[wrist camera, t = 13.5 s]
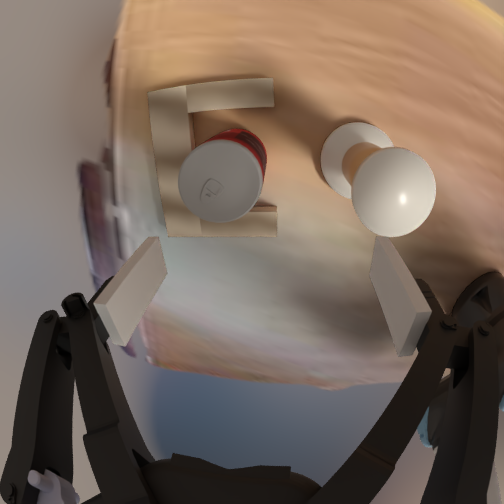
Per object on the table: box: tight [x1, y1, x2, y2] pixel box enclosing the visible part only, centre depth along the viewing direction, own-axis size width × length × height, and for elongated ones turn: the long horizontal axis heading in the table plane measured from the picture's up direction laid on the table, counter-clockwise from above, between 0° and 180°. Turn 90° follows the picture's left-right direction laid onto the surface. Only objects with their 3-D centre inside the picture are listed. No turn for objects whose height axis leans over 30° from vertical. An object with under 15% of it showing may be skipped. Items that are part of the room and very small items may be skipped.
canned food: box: [178, 129, 267, 223], centre depth 29 cm, size 8×8×11 cm
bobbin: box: [320, 122, 436, 237], centre depth 26 cm, size 10×10×13 cm
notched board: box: [147, 78, 277, 237], centre depth 33 cm, size 20×15×2 cm
